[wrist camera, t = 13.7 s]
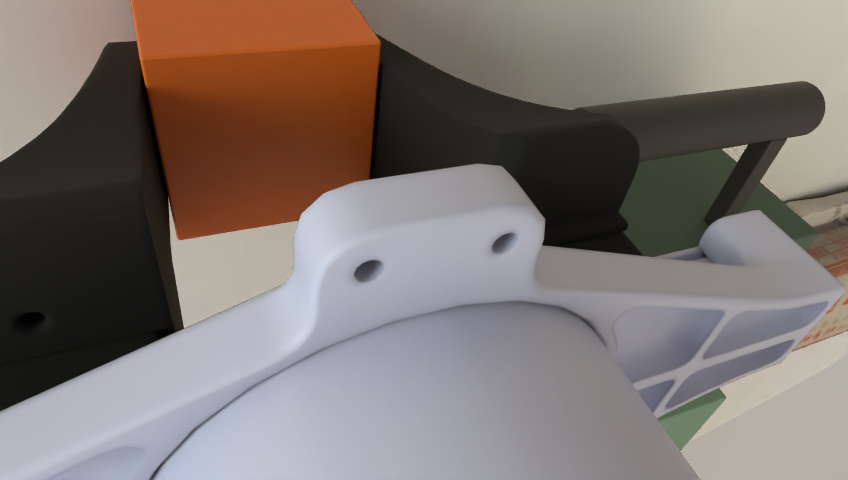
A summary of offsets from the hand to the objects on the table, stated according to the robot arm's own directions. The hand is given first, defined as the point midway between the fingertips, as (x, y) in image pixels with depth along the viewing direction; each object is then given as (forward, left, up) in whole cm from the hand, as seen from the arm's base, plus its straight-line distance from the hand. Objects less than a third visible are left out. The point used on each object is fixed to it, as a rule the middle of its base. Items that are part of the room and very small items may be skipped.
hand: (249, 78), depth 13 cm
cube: (0, 0, -1) cm, 1 cm away
